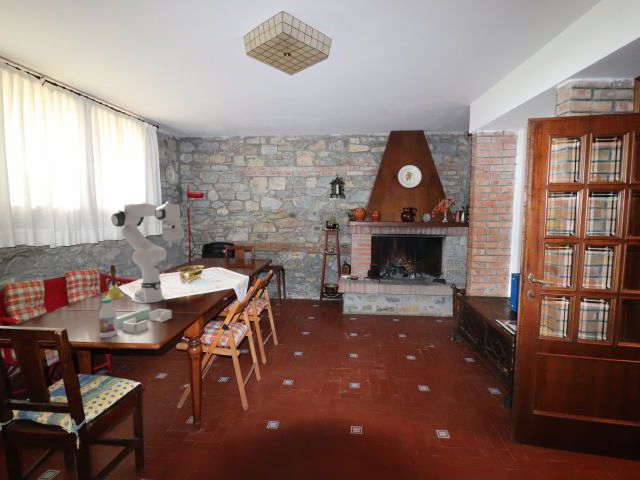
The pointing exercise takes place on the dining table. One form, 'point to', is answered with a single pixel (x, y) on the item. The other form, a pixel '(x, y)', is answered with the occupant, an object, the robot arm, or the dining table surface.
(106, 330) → the milk bottle
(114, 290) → the handbell
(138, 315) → the slat
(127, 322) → the endcap
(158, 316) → the endcap
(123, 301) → the dining table surface
